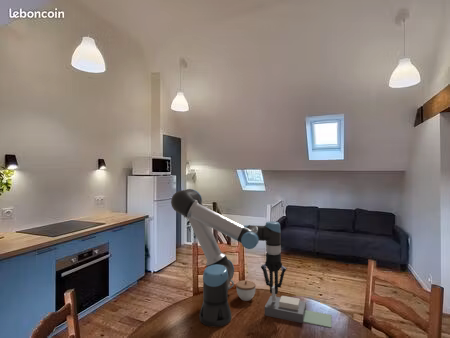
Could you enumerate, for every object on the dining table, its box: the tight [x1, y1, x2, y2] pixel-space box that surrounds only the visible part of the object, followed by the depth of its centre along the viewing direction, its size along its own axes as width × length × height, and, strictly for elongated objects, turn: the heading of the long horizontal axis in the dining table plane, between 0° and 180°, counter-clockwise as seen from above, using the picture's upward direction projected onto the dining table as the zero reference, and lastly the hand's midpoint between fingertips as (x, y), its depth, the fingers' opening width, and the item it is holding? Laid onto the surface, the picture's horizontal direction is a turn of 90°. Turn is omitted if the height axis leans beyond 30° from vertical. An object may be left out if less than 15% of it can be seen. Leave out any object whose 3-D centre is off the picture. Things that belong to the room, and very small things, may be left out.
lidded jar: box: [235, 279, 257, 302], centre depth 145 cm, size 11×11×9 cm
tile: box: [279, 295, 301, 310], centre depth 129 cm, size 9×7×2 cm
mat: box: [303, 309, 332, 329], centre depth 124 cm, size 12×11×1 cm
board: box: [264, 295, 307, 324], centre depth 130 cm, size 18×13×4 cm
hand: (274, 299), depth 132 cm, fingers closed
